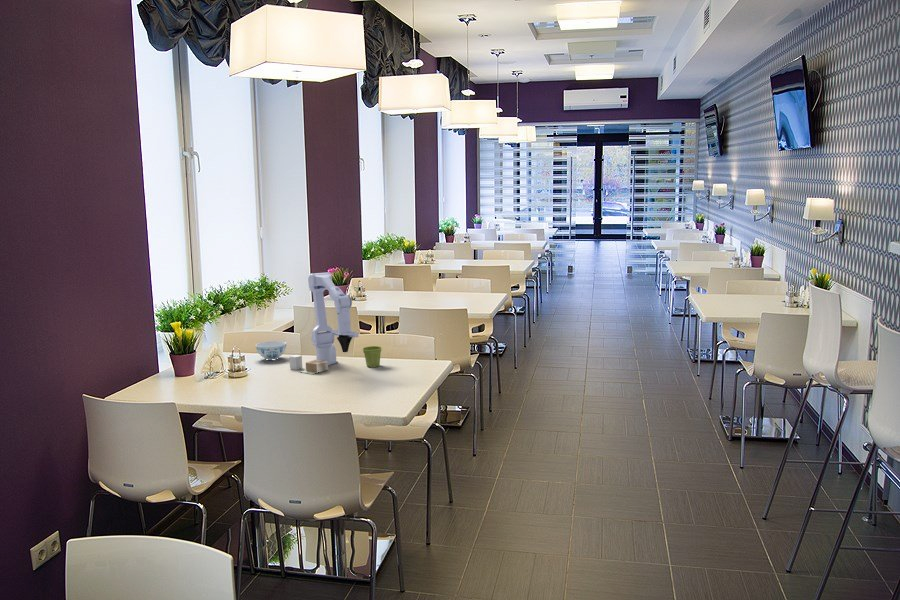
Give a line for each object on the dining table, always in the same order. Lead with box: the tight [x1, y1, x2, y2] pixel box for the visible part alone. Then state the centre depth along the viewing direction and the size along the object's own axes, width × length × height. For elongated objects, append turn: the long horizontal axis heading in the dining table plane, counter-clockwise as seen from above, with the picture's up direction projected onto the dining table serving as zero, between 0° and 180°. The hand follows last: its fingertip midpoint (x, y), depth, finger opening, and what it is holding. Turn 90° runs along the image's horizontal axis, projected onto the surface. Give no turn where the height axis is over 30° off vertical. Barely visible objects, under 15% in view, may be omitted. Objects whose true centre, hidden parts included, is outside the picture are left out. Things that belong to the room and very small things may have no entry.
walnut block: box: [305, 359, 329, 374], centre depth 363 cm, size 7×4×7 cm
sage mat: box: [300, 367, 330, 375], centre depth 364 cm, size 11×8×1 cm
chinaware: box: [255, 340, 287, 360], centre depth 391 cm, size 15×15×8 cm
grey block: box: [289, 354, 303, 370], centre depth 369 cm, size 4×4×6 cm
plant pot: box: [361, 345, 383, 368], centre depth 370 cm, size 9×9×9 cm
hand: (345, 351), depth 356 cm, fingers closed
